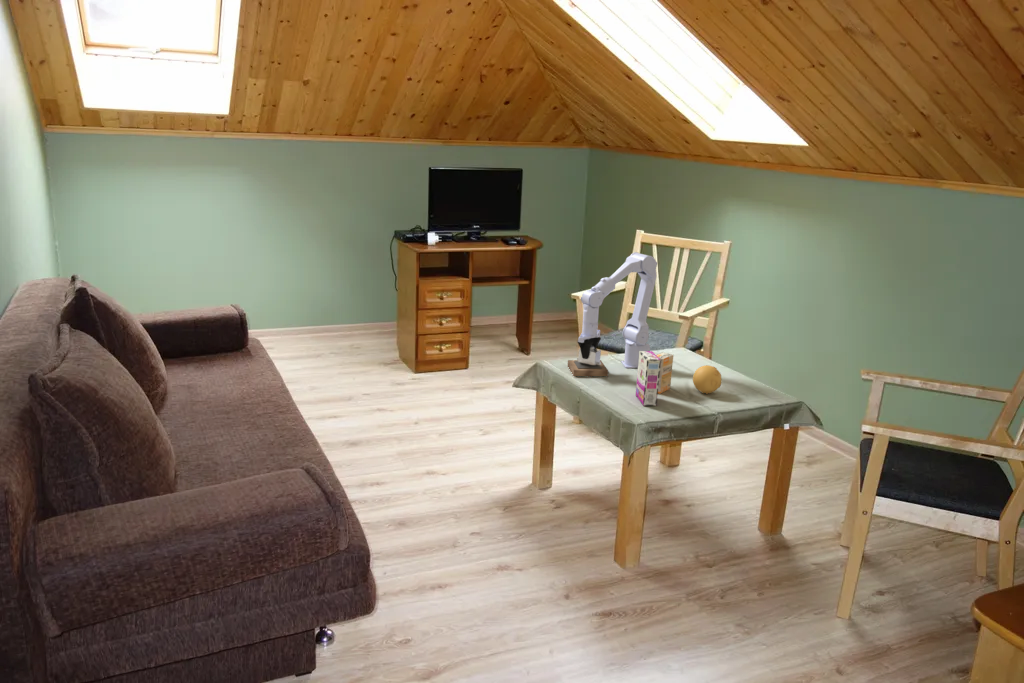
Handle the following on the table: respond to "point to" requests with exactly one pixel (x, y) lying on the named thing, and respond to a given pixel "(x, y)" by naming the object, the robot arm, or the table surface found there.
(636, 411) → the table surface
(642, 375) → the candy bar box
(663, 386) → the supplement box
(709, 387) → the stress ball
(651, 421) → the table surface
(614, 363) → the table surface
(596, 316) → the robot arm
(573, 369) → the stand
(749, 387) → the table surface
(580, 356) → the housing
